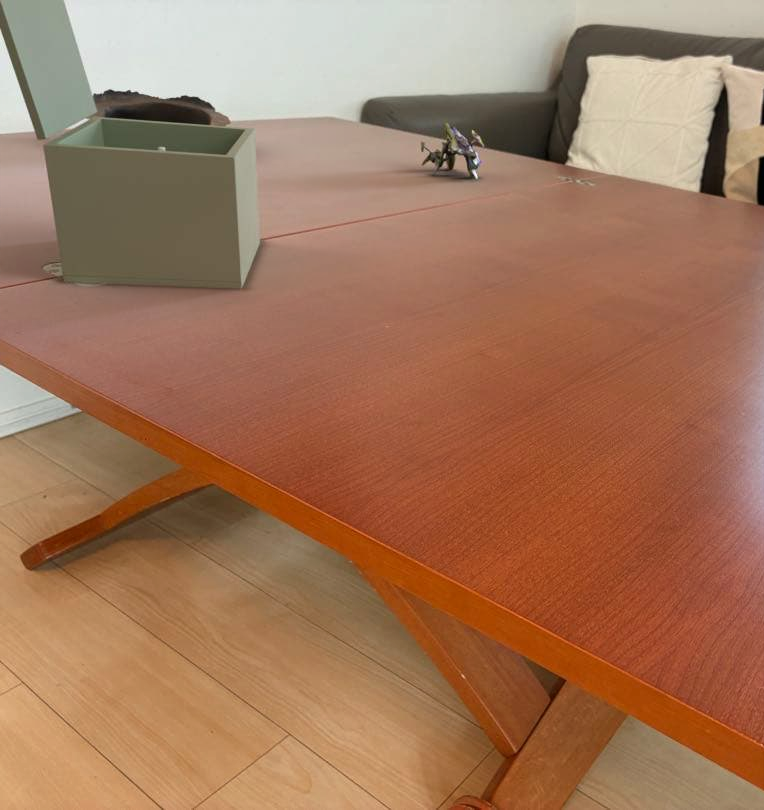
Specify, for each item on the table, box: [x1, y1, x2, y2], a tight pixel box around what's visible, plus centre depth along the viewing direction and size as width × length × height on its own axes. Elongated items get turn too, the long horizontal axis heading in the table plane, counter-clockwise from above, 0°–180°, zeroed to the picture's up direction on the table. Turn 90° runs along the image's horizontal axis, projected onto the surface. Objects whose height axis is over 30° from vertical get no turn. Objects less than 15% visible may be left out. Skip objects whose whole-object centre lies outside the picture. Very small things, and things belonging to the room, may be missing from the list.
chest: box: [42, 117, 261, 290], centre depth 97 cm, size 18×18×14 cm
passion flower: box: [420, 122, 486, 180], centre depth 157 cm, size 11×11×12 cm
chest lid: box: [0, 0, 97, 141], centre depth 87 cm, size 19×18×1 cm
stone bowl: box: [85, 88, 231, 127], centre depth 150 cm, size 25×25×9 cm
